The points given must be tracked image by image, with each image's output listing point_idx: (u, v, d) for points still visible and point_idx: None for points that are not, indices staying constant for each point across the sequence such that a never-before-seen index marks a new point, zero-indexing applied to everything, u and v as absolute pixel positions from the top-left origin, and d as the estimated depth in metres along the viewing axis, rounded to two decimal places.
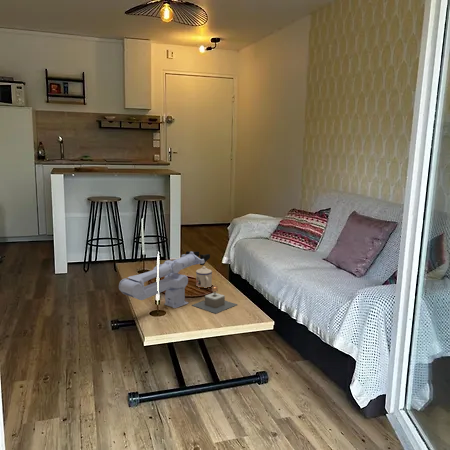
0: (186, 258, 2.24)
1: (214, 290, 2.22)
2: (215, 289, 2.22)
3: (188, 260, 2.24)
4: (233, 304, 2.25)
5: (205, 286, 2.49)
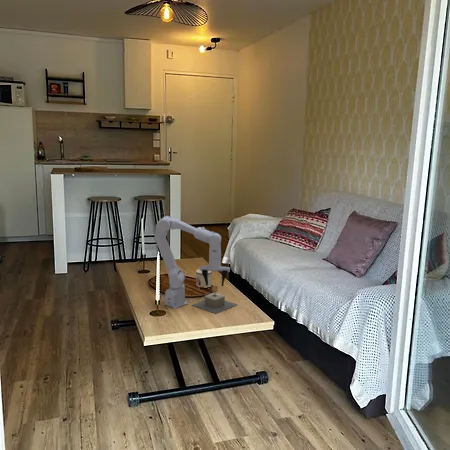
0: (219, 258, 2.18)
1: (214, 290, 2.22)
2: (215, 289, 2.22)
3: (209, 258, 2.19)
4: (233, 304, 2.25)
5: (205, 286, 2.49)
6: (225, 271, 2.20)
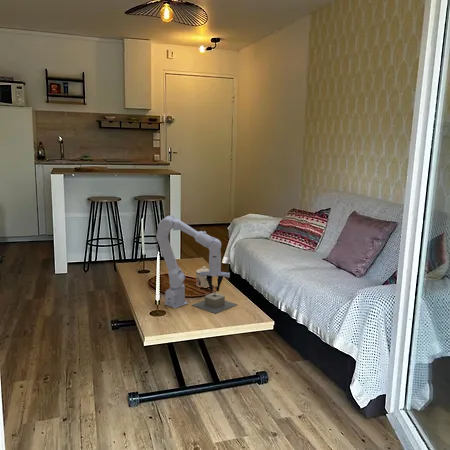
0: (219, 263, 2.19)
1: (214, 290, 2.22)
2: (215, 289, 2.22)
3: (209, 264, 2.20)
4: (233, 304, 2.25)
5: (205, 286, 2.49)
6: None
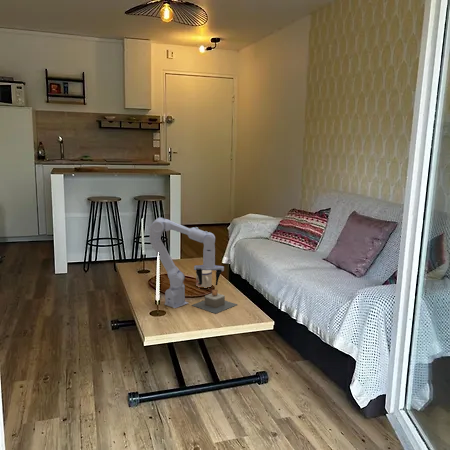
0: (213, 257, 2.20)
1: (214, 294, 2.22)
2: (215, 293, 2.22)
3: (203, 257, 2.20)
4: (233, 304, 2.25)
5: (205, 286, 2.49)
6: (219, 270, 2.21)
